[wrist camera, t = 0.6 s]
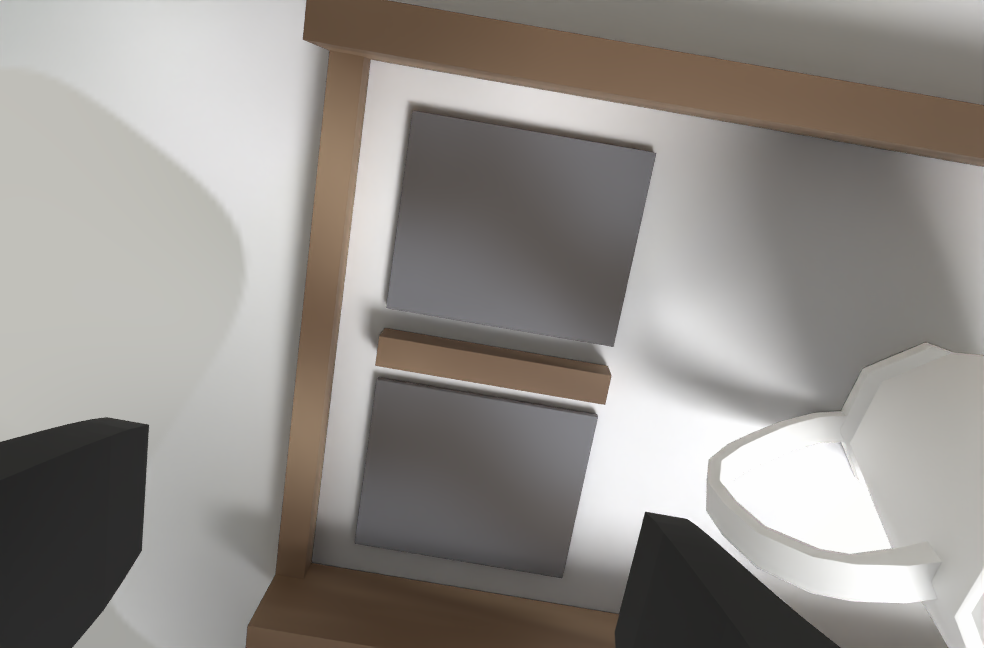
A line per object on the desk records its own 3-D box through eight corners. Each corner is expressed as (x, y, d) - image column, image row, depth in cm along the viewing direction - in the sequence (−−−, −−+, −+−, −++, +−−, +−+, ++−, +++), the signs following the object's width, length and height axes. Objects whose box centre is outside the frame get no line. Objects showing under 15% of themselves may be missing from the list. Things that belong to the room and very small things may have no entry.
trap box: (1274, 753, 22) (1389, 848, 19) (281, 587, 22) (244, 659, 19) (1566, 224, 18) (1770, 243, 15) (342, 9, 18) (307, -14, 15)
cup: (1036, 533, 20) (1355, 784, 13) (672, 545, 21) (764, 793, 13) (1072, 286, 19) (1471, 400, 11) (673, 305, 19) (782, 428, 11)
